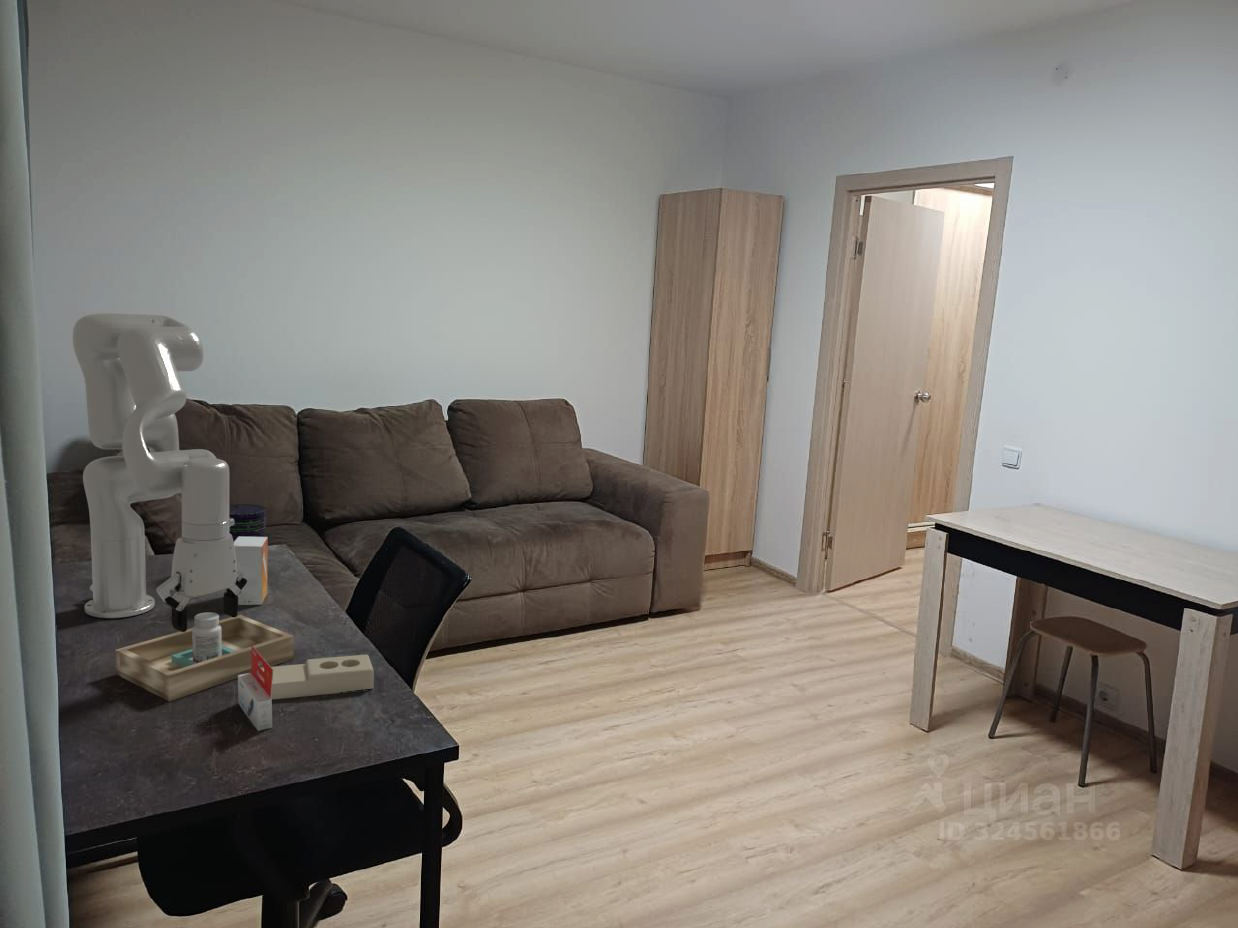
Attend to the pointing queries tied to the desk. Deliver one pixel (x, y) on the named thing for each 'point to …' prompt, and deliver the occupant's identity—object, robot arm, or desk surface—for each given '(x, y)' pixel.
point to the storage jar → (247, 520)
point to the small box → (253, 568)
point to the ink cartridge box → (257, 692)
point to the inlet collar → (184, 656)
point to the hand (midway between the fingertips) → (205, 622)
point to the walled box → (172, 681)
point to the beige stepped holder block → (322, 677)
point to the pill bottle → (206, 637)
